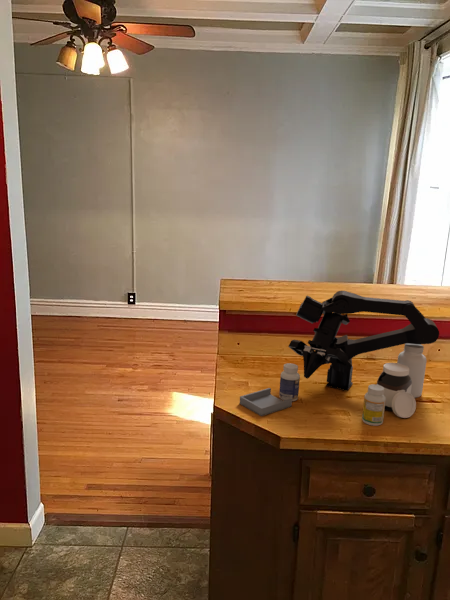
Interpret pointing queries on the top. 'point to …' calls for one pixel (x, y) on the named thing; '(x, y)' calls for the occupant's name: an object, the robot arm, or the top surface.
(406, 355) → the pill bottle
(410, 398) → the spread jar
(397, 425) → the top surface
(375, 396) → the supplement bottle
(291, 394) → the pill bottle
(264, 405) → the tray
